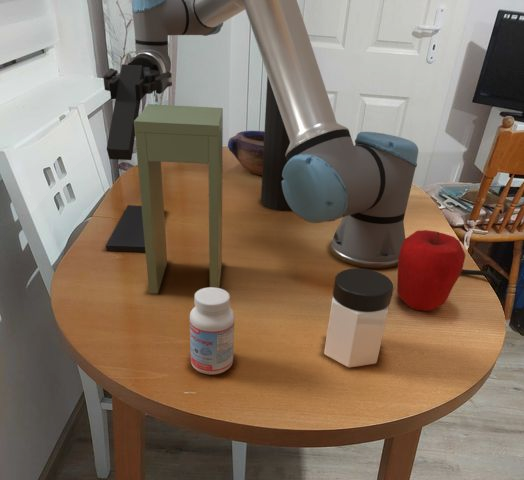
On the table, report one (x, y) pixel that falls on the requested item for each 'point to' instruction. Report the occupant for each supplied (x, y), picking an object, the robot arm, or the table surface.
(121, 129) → the black rectangular bar
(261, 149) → the bowl
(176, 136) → the stand
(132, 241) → the base pad
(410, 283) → the apple
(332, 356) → the jar
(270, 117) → the vase
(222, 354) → the pill bottle
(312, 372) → the table surface
